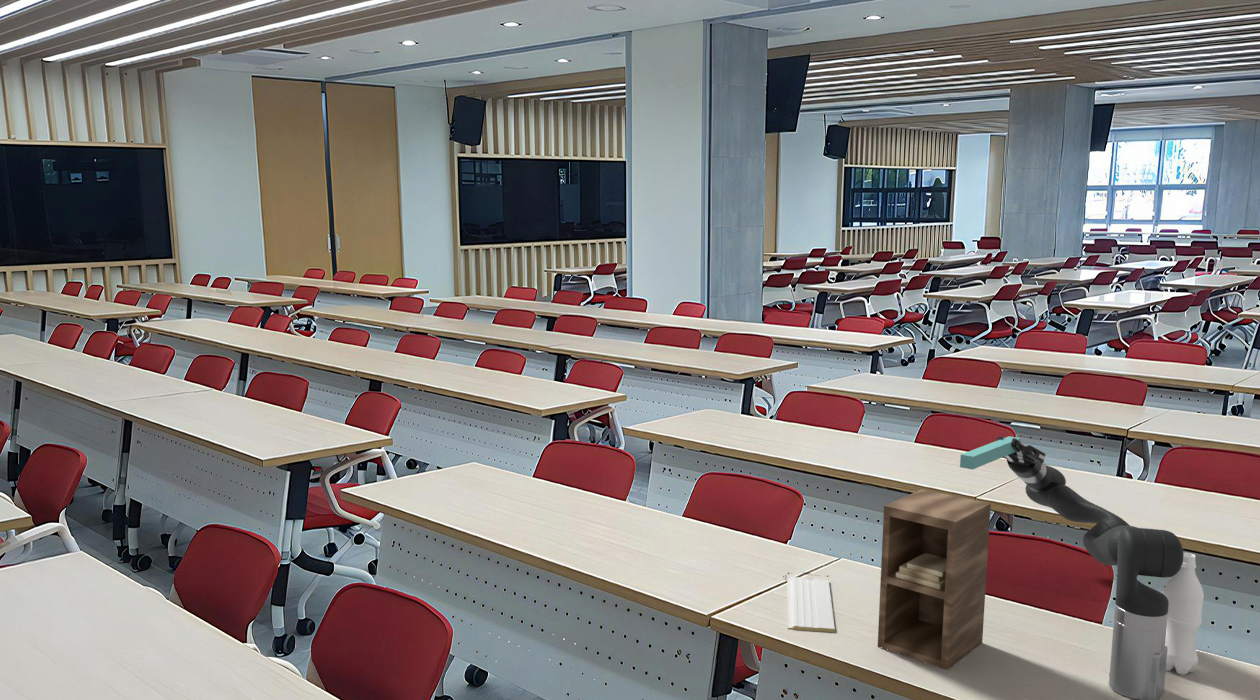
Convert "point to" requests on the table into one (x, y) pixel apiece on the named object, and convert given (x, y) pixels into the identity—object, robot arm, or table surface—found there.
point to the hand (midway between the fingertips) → (1006, 440)
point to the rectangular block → (987, 453)
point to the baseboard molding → (809, 604)
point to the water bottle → (1183, 617)
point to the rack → (933, 576)
